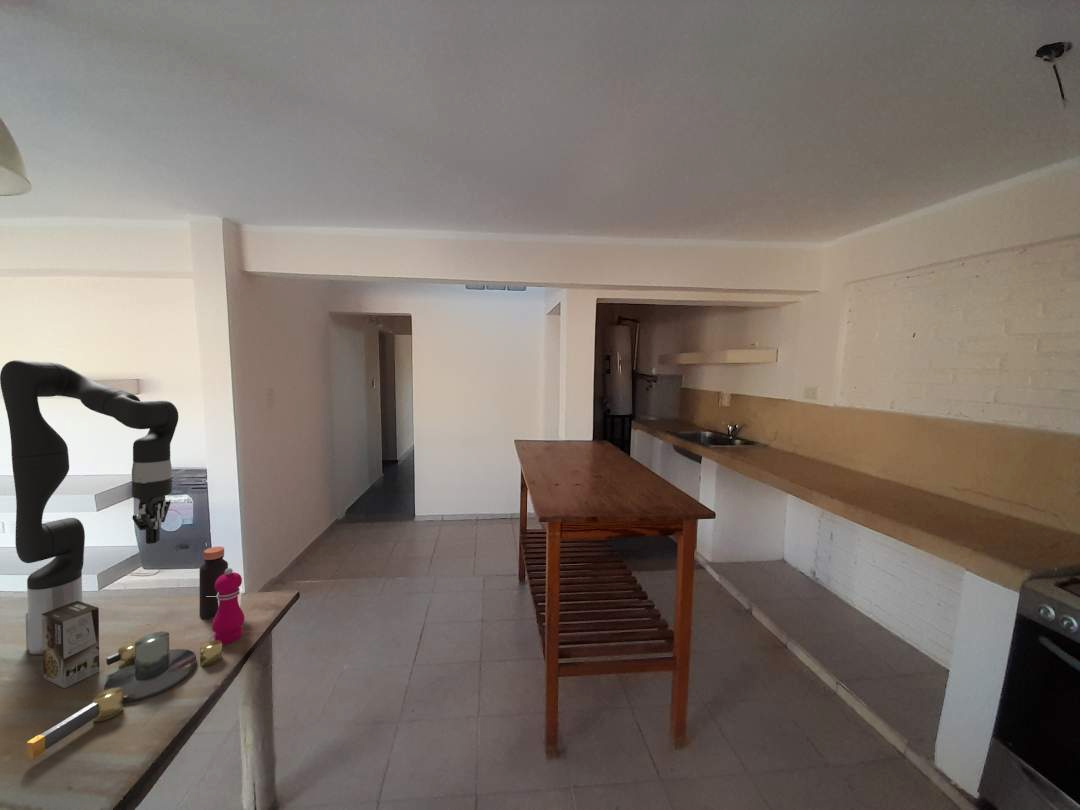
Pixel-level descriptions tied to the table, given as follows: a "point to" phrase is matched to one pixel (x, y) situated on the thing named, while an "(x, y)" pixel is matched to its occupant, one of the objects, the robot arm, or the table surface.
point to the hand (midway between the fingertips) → (152, 542)
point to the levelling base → (153, 684)
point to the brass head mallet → (79, 720)
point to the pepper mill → (228, 608)
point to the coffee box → (70, 643)
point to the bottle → (211, 580)
